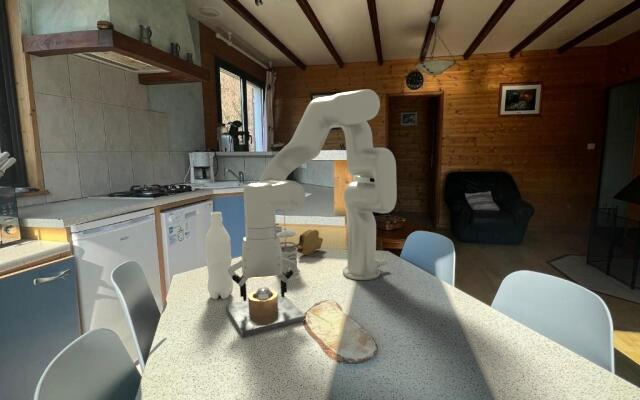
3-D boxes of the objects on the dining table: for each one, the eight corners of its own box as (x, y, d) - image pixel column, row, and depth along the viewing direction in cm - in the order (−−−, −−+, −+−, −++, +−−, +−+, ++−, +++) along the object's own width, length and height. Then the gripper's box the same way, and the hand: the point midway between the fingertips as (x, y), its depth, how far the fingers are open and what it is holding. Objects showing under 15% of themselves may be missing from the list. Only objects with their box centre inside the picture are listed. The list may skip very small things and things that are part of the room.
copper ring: (271, 301, 96) (271, 287, 95) (281, 311, 90) (281, 297, 89) (245, 307, 92) (245, 293, 92) (254, 318, 86) (253, 303, 86)
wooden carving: (314, 248, 152) (314, 225, 150) (323, 249, 149) (323, 226, 148) (292, 258, 138) (292, 233, 136) (302, 260, 135) (302, 235, 134)
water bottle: (226, 302, 99) (221, 215, 96) (203, 300, 101) (197, 214, 97) (237, 292, 106) (233, 210, 103) (215, 290, 108) (210, 210, 104)
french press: (305, 269, 125) (304, 200, 121) (285, 280, 115) (283, 205, 111) (283, 265, 130) (281, 198, 126) (262, 274, 120) (259, 202, 117)
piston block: (281, 297, 102) (280, 274, 101) (305, 320, 88) (304, 293, 87) (225, 310, 94) (224, 285, 93) (242, 338, 80) (241, 308, 79)
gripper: (293, 227, 93) (295, 288, 96) (226, 231, 90) (230, 294, 93) (297, 233, 86) (299, 300, 88) (224, 238, 83) (228, 307, 85)
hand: (264, 297), depth 90 cm, fingers open, 9 cm apart
